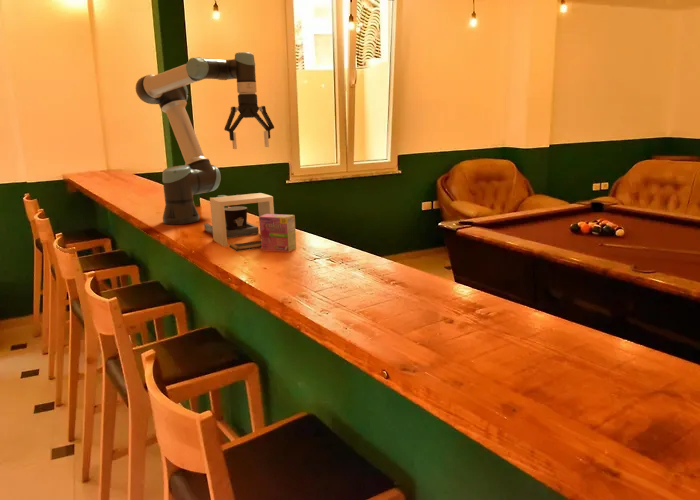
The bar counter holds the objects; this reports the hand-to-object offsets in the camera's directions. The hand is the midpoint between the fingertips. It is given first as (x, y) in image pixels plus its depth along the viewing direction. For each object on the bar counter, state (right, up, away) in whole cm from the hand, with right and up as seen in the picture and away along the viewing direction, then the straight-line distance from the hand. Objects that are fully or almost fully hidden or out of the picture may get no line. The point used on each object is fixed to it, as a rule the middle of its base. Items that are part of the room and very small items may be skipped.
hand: (251, 148), depth 227 cm
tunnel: (+2, -38, -24) cm, 45 cm away
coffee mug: (-4, -36, -15) cm, 39 cm away
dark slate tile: (+8, -40, -34) cm, 53 cm away
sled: (-6, -34, -11) cm, 36 cm away
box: (+16, -42, -39) cm, 59 cm away
